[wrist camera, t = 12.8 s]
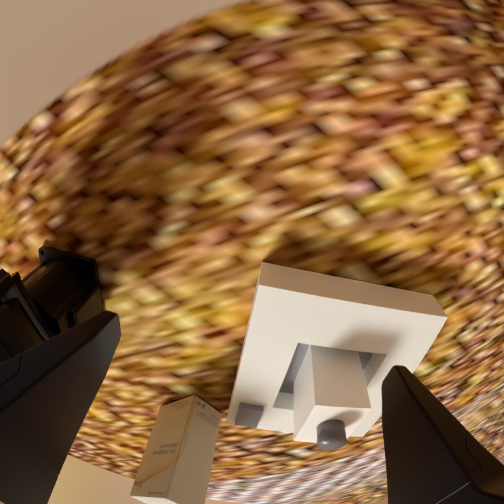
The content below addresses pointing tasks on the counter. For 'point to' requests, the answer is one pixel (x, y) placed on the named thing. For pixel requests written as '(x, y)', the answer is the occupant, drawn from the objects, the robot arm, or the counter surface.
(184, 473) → the skincare box
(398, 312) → the socket plate
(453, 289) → the counter surface
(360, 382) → the plug
